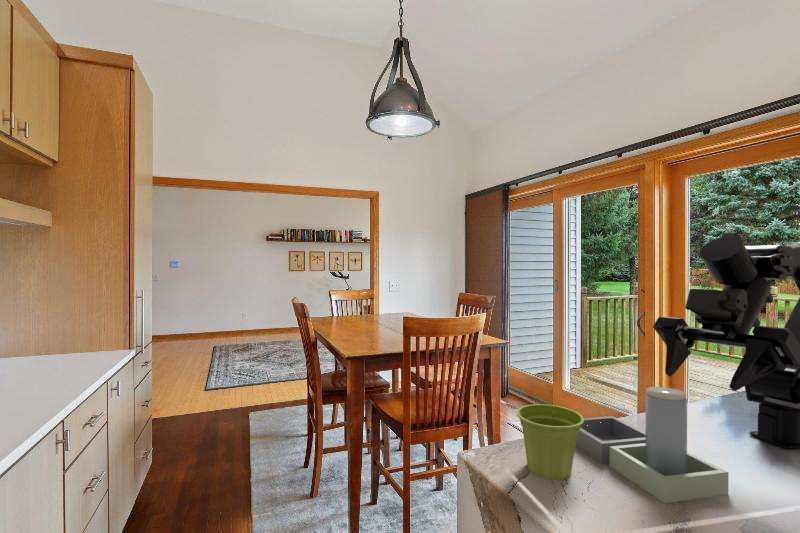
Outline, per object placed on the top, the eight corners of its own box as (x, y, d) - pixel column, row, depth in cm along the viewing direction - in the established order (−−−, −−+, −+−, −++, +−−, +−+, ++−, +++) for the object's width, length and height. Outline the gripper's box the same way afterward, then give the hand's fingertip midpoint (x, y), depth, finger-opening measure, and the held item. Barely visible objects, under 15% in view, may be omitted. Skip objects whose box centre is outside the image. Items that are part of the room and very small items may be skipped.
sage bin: (665, 463, 66) (665, 441, 66) (728, 498, 56) (728, 472, 56) (609, 469, 64) (609, 446, 64) (664, 507, 54) (664, 479, 54)
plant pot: (590, 492, 58) (590, 428, 58) (518, 484, 59) (519, 423, 59) (575, 461, 67) (576, 406, 67) (514, 455, 69) (514, 402, 69)
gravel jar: (657, 467, 64) (657, 384, 64) (694, 482, 59) (693, 393, 59) (638, 475, 61) (638, 389, 61) (675, 491, 57) (675, 398, 57)
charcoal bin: (612, 435, 77) (612, 416, 77) (657, 460, 67) (657, 438, 67) (563, 439, 75) (563, 420, 75) (601, 466, 65) (601, 443, 65)
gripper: (658, 270, 75) (616, 338, 70) (791, 270, 58) (747, 359, 53) (687, 312, 78) (649, 379, 73) (821, 323, 61) (782, 412, 56)
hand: (697, 381), depth 64 cm, fingers open, 9 cm apart
